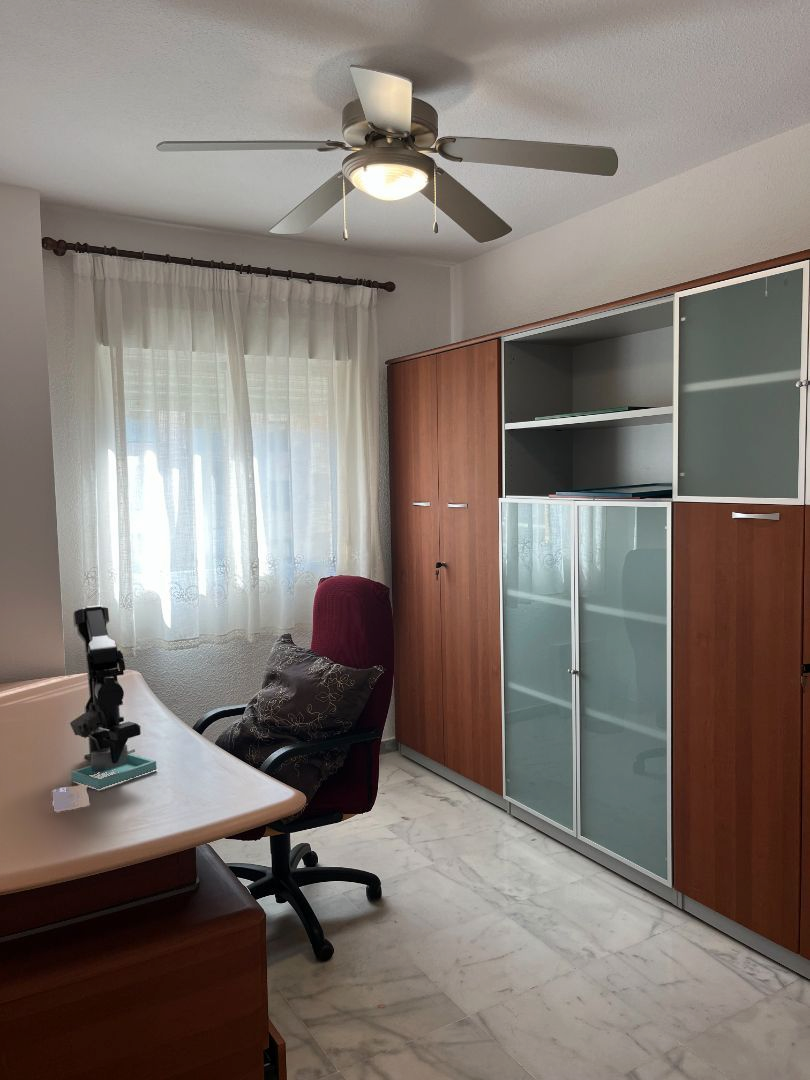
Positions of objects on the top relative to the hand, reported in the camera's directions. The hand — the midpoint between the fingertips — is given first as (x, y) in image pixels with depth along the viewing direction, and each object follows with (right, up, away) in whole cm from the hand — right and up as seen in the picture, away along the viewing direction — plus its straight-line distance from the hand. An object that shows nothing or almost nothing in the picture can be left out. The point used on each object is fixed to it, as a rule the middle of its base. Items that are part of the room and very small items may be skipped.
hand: (110, 761), depth 190 cm
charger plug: (0, -1, 0) cm, 1 cm away
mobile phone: (-4, -5, -12) cm, 14 cm away
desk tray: (+1, -4, +1) cm, 4 cm away
